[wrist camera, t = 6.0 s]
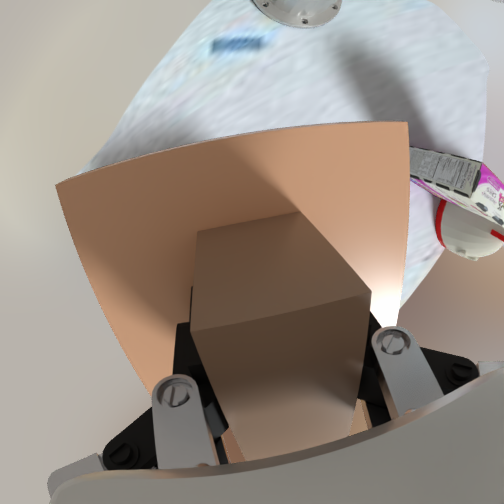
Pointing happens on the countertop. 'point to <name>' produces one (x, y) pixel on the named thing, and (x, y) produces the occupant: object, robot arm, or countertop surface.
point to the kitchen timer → (467, 232)
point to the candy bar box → (459, 182)
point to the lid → (254, 266)
